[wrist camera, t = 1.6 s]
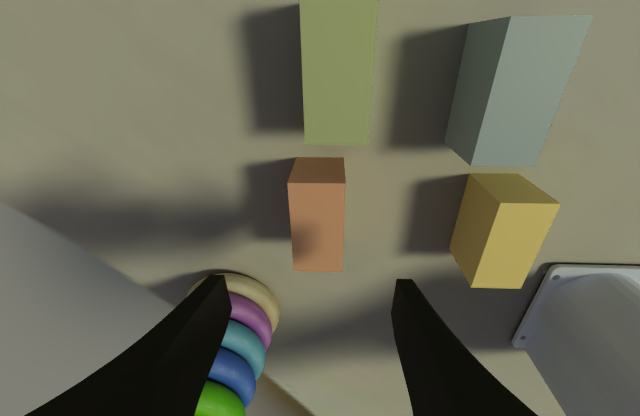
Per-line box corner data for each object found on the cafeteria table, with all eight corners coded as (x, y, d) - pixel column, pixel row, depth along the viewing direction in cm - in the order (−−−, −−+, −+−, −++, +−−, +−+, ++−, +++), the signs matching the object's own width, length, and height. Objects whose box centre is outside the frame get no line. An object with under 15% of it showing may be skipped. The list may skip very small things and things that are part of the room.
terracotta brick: (341, 234, 21) (342, 272, 17) (300, 233, 21) (293, 271, 18) (343, 156, 18) (345, 183, 14) (296, 156, 18) (287, 182, 15)
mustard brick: (489, 248, 21) (520, 288, 17) (448, 247, 21) (470, 287, 18) (517, 173, 18) (561, 203, 14) (468, 172, 18) (500, 203, 15)
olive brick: (361, 124, 17) (367, 145, 13) (311, 125, 17) (304, 145, 14) (369, 1, 14) (380, -15, 10) (308, 2, 14) (298, -13, 11)
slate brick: (494, 142, 17) (534, 166, 13) (443, 141, 17) (470, 166, 14) (530, 22, 14) (594, 15, 11) (468, 23, 14) (510, 16, 11)
